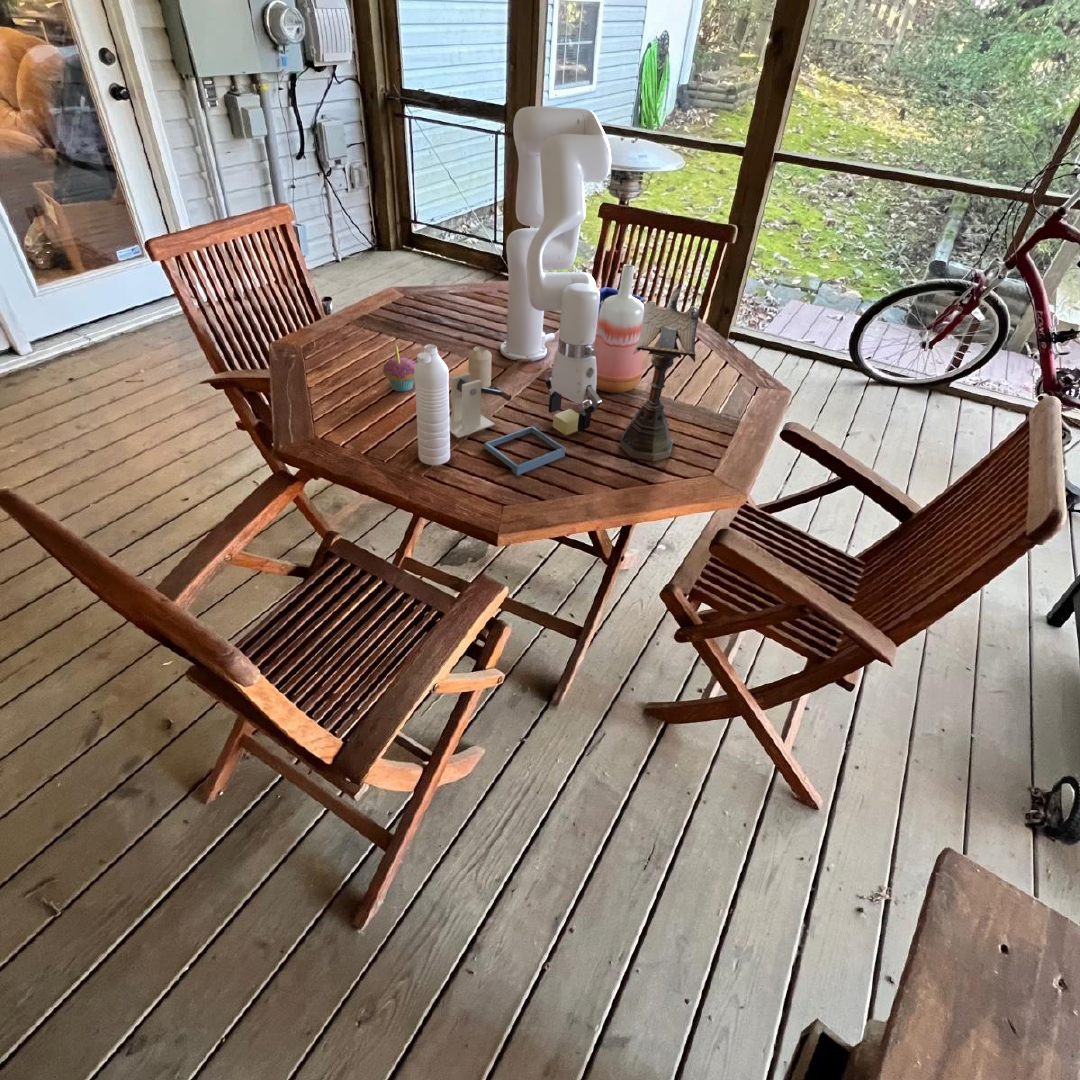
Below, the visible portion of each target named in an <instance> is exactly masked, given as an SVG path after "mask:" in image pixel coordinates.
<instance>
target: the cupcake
mask: <svg viewBox="0 0 1080 1080" xmlns="http://www.w3.org/2000/svg"><path fill="white" fill-rule="evenodd" d="M394 345H395V346H394V352H395V357H394V358H391V359H389V360H387V361H386V363H384V365H383V371H382V372H383V375H384V377H385V378H386V379H388V381H389V383H390V385H391V388H392V390H394V391H395V392H400V393H406V392H409V391H410V390H412V389H413V385H414V384H415V378H414V371H415V367H416V365H417V362H415V360H412V359H410V358H408V357H404V356H400V355H399V347H398V345H397V343H394Z"/></svg>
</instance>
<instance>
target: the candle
mask: <svg viewBox="0 0 1080 1080" xmlns="http://www.w3.org/2000/svg"><path fill="white" fill-rule="evenodd" d="M492 355H493V354H492V353H491V352H490V351H489V350H488V349H486V348H483V347H481V346H474V347H473V348H472V349H471V350H470V351H469V352H468V373H470V381H471V382H472V381H475V380H478V379H479V380H480V381H481V387H485V388H490V387H491V386H492Z"/></svg>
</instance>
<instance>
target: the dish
mask: <svg viewBox="0 0 1080 1080" xmlns="http://www.w3.org/2000/svg"><path fill="white" fill-rule="evenodd" d="M531 433H532V434H533V435H535V436H536V437H538V438H540V439H541V441H544V442H545V443H547V444H548V445H550V446H551V447H553V448H554V449H555V450H552V451H550V452H547V453H545V454H543V455H540V456H537V457H535V458H532V459H530V460H528V461H525V462H522V463H520V464H517V463H515V462H514V461H513V460H512V459H510V458H508V457H507V456H506V455H504V454H503V453H502V452H501V451H499V450H498V449H497V448H495V447H496V446H498V445H501V444H503V443H507V442H509V441H513V440H515V439H517V438H520V437H522V436H525V435H528V434H531ZM483 448H484V449H485V450H487V451H488V452H489V453H490V454H492V455H493V456H494V457H496V458H497V459H498V460H499V461H501V462H503V463H504V464H505V465H507V466H508V468H510V469H509V471H510V472H511V473H513V475H515V476H519V475H523V474H525V473H528V472H530V471H532V470H535V469H537V468H539V467H543V466H544V465H547V464H550V463H551V462H554V461H556V460H557V461H558V460H559V459H561V458H564V457H565V456H566V448H567V447H565V446H563V445H562V444H561V443H559V442H557V441H556V440H555V439H553V438H551V437H550V436H548V435H547V434H545V433H544V432H542V431H541V430H540V429H538V428H536V427H535V426H533V425H531V426H528V427H525V428H521V429H519V430H517V431H514V432H511V433H508V434H505V435H503V436H501V437H500V436H499V437H498V438H495V439H492V440H489V441H487V442H484V447H483Z"/></svg>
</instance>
